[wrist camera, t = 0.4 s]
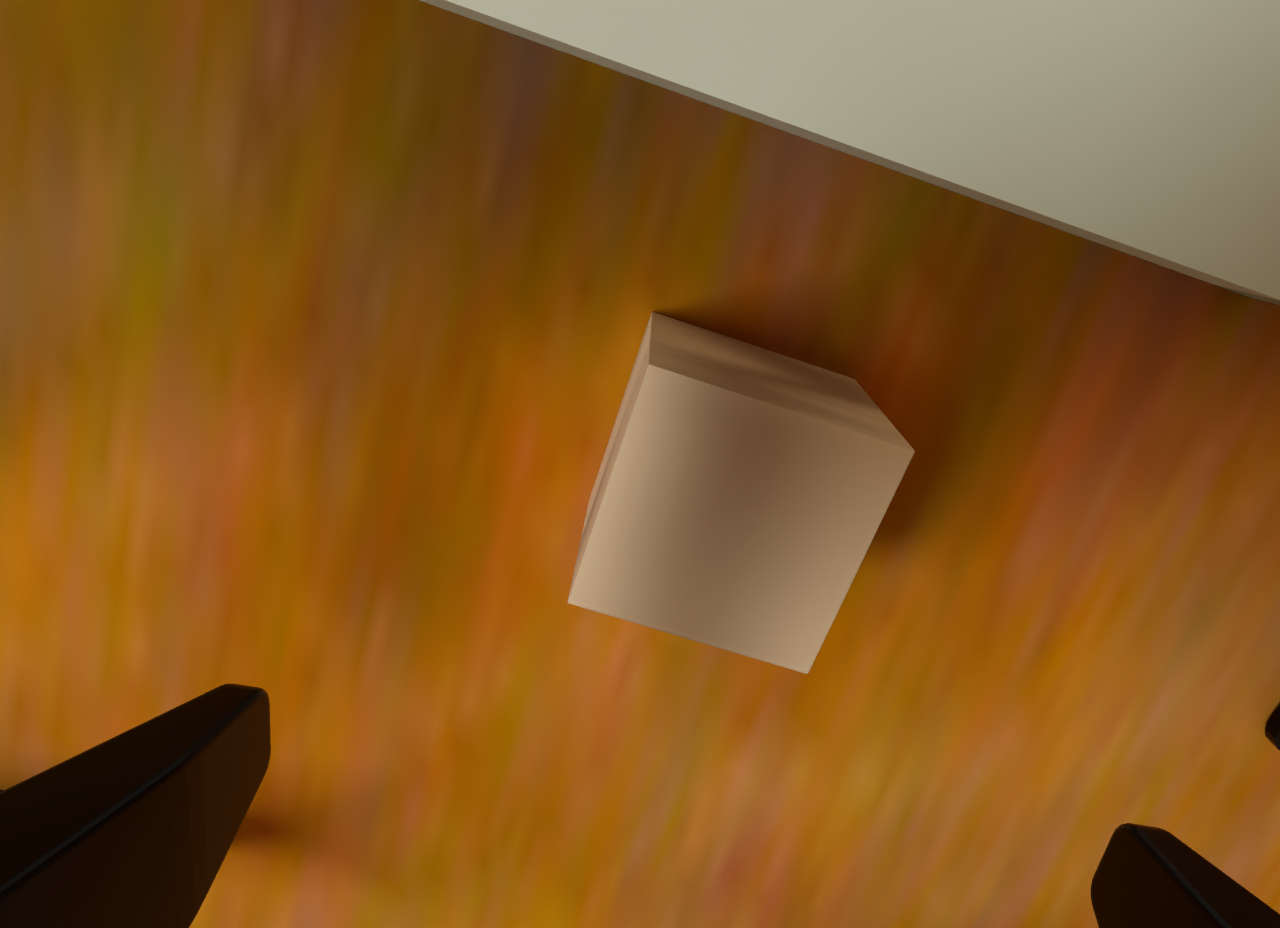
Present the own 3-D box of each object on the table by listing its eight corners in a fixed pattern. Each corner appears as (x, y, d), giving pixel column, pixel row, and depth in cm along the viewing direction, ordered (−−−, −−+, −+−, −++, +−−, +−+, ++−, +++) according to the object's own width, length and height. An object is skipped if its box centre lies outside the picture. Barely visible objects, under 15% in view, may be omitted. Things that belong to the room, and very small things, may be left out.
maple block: (853, 378, 19) (915, 451, 14) (775, 557, 21) (807, 673, 16) (652, 310, 19) (648, 363, 14) (589, 499, 20) (567, 603, 16)
